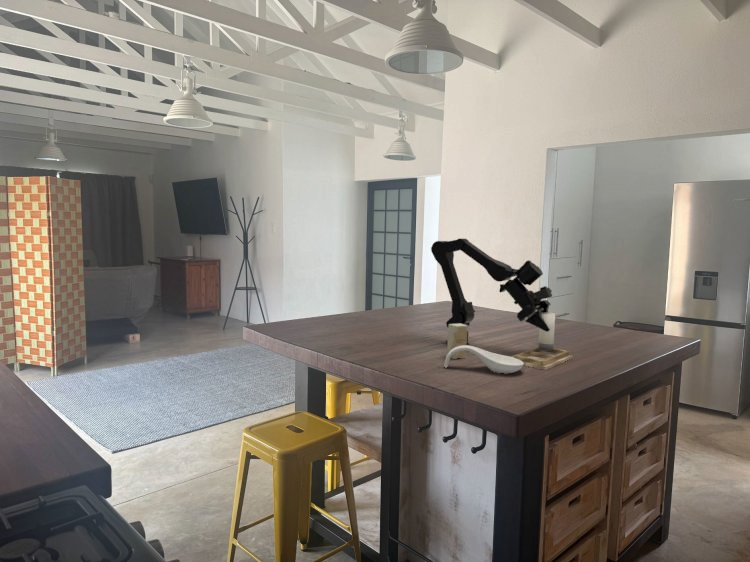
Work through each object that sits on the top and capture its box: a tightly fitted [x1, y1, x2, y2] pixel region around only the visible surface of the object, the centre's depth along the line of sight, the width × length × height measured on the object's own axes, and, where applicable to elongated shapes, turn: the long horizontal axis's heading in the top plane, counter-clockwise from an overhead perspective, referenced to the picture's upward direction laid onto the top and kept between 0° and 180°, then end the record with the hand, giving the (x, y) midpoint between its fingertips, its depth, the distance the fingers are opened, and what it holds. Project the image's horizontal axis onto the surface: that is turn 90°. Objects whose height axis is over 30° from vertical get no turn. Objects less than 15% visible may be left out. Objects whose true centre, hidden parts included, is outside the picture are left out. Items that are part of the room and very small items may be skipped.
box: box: [446, 323, 469, 360], centre depth 175 cm, size 5×4×11 cm
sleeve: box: [537, 311, 556, 350], centre depth 177 cm, size 5×5×12 cm
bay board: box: [510, 347, 573, 371], centre depth 175 cm, size 14×21×2 cm, turn 138°
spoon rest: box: [443, 345, 524, 375], centre depth 161 cm, size 24×12×7 cm, turn 80°
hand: (550, 329), depth 177 cm, fingers closed on sleeve, 5 cm apart
